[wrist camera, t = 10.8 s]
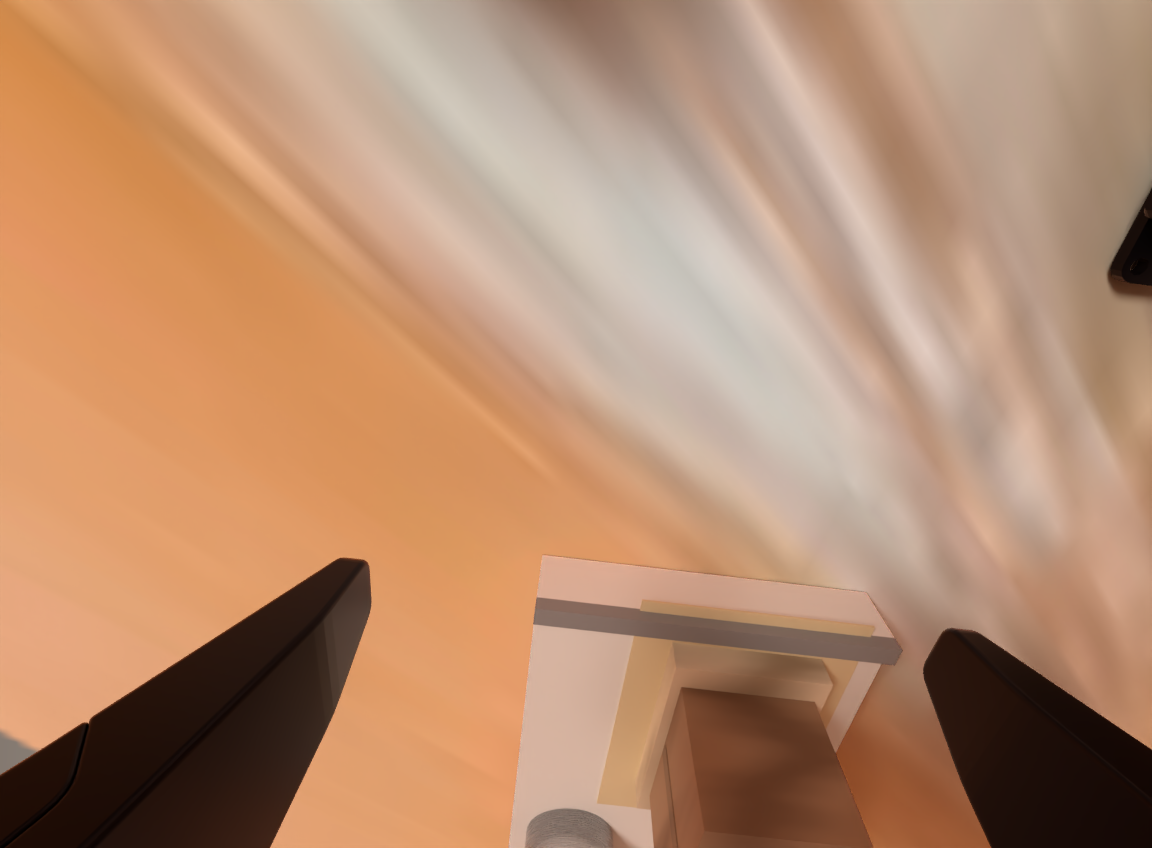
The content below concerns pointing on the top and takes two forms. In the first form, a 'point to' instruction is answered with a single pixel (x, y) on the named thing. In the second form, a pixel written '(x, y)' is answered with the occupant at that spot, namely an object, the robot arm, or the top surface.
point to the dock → (660, 671)
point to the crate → (744, 755)
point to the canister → (568, 830)
